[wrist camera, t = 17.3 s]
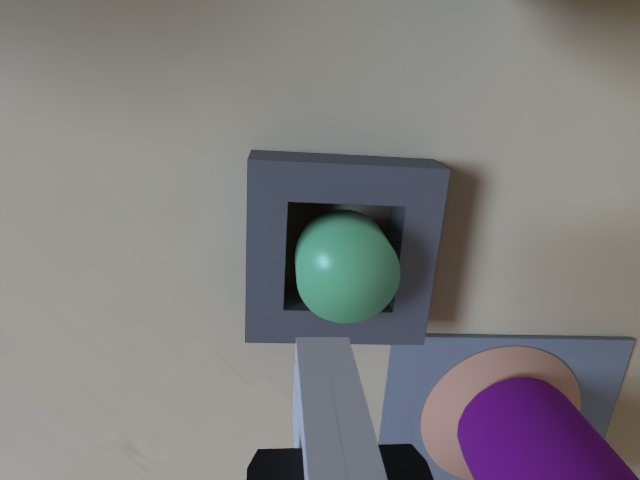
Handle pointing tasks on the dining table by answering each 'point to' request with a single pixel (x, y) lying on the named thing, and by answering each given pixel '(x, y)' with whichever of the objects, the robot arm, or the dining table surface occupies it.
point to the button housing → (341, 188)
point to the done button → (345, 267)
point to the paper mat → (484, 370)
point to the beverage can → (533, 436)
